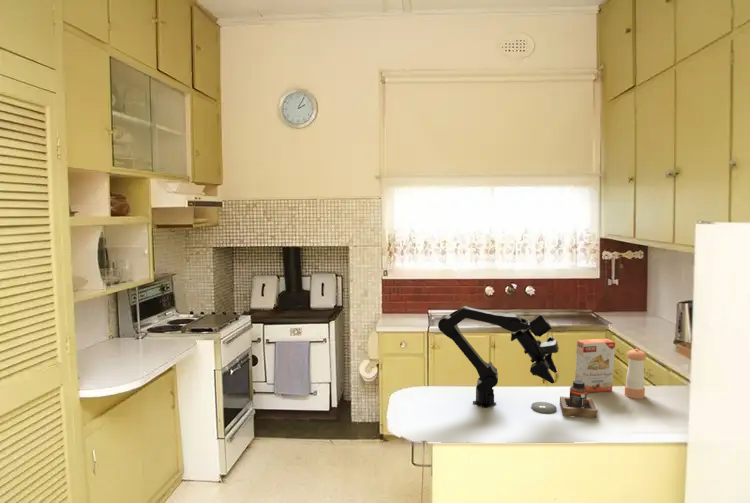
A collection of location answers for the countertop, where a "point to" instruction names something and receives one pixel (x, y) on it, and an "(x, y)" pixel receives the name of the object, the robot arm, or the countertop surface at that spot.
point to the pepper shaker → (635, 374)
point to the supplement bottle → (578, 395)
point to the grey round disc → (543, 407)
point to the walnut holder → (578, 409)
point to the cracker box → (595, 364)
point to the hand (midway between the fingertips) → (554, 377)
